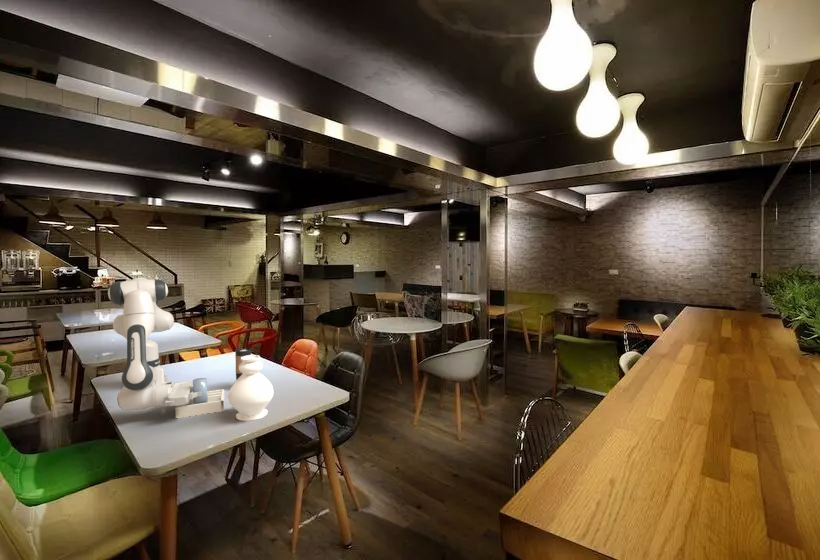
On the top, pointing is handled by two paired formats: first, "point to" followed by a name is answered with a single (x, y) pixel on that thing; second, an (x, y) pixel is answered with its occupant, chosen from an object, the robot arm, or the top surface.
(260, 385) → the decorative vase
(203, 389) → the grey cylinder
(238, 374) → the travel mug
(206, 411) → the compartment tray
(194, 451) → the top surface
